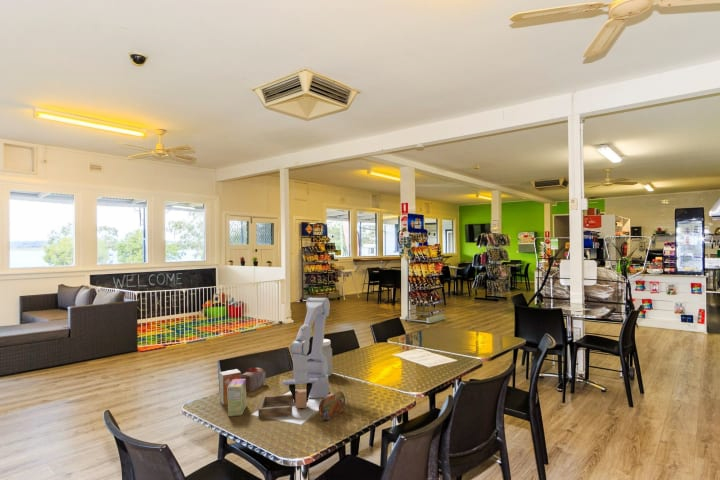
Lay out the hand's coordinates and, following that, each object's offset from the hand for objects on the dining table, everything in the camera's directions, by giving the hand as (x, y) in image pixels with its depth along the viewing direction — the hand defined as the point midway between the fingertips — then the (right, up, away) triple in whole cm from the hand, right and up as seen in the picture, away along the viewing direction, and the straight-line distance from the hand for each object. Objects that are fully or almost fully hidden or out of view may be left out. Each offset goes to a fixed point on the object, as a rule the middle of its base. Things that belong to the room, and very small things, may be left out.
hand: (301, 401), depth 173 cm
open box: (-9, -3, -1) cm, 10 cm away
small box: (-33, -4, +10) cm, 35 cm away
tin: (+14, -2, -9) cm, 16 cm away
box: (-26, -4, -1) cm, 27 cm away
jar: (+6, -3, +44) cm, 44 cm away
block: (0, -2, 0) cm, 2 cm away
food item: (-27, -4, +27) cm, 38 cm away
